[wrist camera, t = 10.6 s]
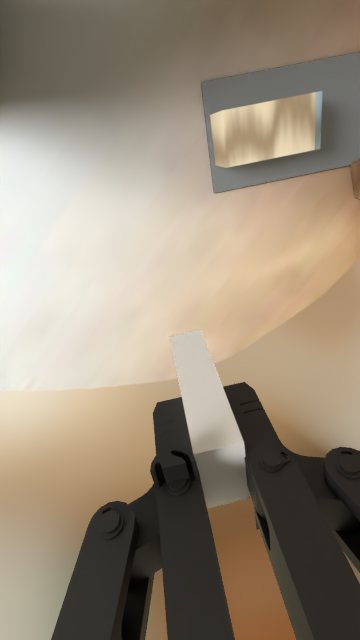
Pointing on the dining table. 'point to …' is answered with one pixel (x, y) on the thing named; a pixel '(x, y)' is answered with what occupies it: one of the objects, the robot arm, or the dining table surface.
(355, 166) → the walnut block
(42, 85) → the dining table surface
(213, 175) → the rubber mat
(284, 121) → the birch block
